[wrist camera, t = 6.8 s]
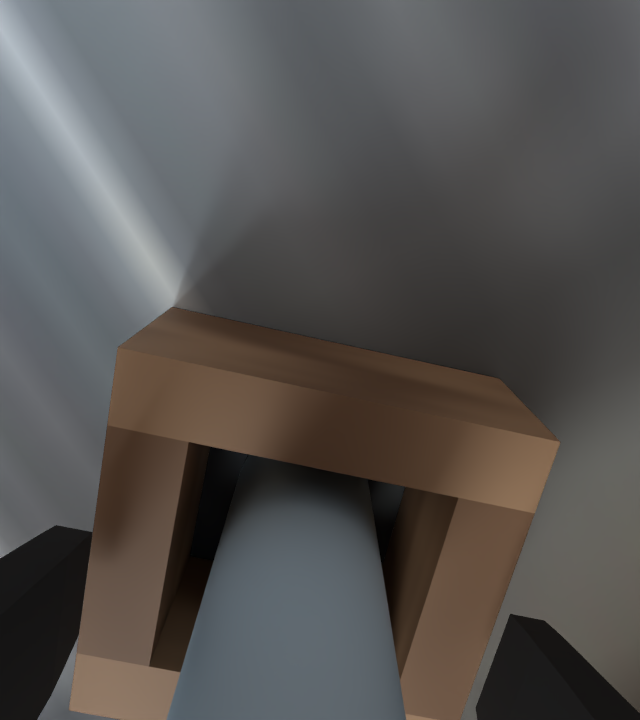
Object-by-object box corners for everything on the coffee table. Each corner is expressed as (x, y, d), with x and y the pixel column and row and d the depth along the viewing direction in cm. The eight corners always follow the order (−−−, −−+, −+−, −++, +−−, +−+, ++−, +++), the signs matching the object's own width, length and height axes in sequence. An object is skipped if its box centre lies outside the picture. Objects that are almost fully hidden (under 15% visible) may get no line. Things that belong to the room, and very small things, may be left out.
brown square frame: (126, 592, 15) (68, 710, 12) (171, 306, 13) (117, 347, 10) (413, 646, 16) (439, 776, 12) (499, 378, 13) (560, 442, 10)
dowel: (225, 532, 15) (85, 1023, 6) (252, 416, 14) (133, 791, 5) (350, 559, 15) (389, 1073, 6) (384, 446, 14) (484, 855, 5)
